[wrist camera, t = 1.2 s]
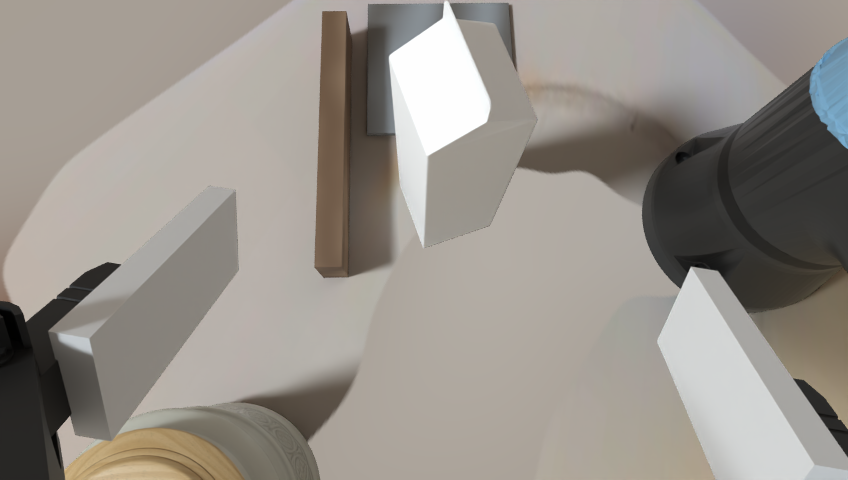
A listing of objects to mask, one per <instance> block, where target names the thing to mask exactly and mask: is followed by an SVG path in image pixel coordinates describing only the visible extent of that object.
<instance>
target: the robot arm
mask: <svg viewBox="0 0 848 480" xmlns="http://www.w3.org/2000/svg"><path fill="white" fill-rule="evenodd" d="M642 219H643V228H644V232H645V236H646V240H647V243H648V246H649V248H650V250H651V252H652V254H653V256H654V258H655V260H656V261H657V263H658V265H659V266H660V267H661V269H662V270H663V271H664V273H665V274H666V275H667V276H668V277H669V278H670V280H671V281H672V282H673V283H675V284H676V285H677V286H678V287H679V288H680V289H681V290H680V292H679V294H678V296H677V299H676V301H675V303H674V305H673V308H672V310H671V312H670V314H669V316H668V319H667V321H666V323H665V325H664V327H663V330H662V332H661V334H660V336H659V338H658V341H657V342H658V345H659V347H660V349H661V352H662V354H663V357H664V359H665V361H666V364H667V366H668V368H669V371H670V373H671V375H672V378H673V380H674V382H675V385H676V387H677V390H678V392H679V394H680V397H681V399H682V401H683V404H684V406H685V408H686V411H687V413H688V415H689V418H690V420H691V422H692V425H693V427H694V430H695V432H696V434H697V437H698V439H699V441H700V444H701V446H702V448H703V451H704V453H705V455H706V458H707V460H708V463H709V465H710V467H711V470H712V472H713V474H714V477H715V479H716V480H848V429H847V428H846V427H845V425H844V424H843V422H842V421H841V420H838V416H837V414H836V413H835V412H834V410H833V409H832V408H831V406H830V405H829V403H828V402H827V401H826V399H825V398H824V397H823V396H822V395H820V394H819V393H818V392H817V391H816V390H815V389H813V388H812V387H811V386H810V385H809V384H808V383H806V382H805V381H804V380H799V379H793V378H792V377H791V375H790V374H789V372H788V371H787V369H786V368H785V367H784V365H783V364H782V362H781V361H780V359H779V358H778V357H777V355H776V354H775V352H774V351H773V349H772V348H771V346H770V345H769V344H768V342H767V341H766V339H765V338H764V336H763V335H762V334H761V332H760V331H759V329H758V328H757V326H756V325H755V324H754V322H753V321H752V319H751V318H750V316H749V315H748V313H756V312H763V311H767V310H772V309H776V308H781V307H785V306H788V305H791V304H794V303H796V302H798V301H800V300H802V299H804V298H806V297H808V296H809V295H811V294H812V293H813V292H815V291H816V290H817V289H818V288H819V287H821V286H822V285H823V284H824V283H825V282H826V281H827V280H828V279H830V278H831V277H832V276H833V275H834V274H835V273H837V272H838V271H839V270H840V269H841V268H842V267H844V269H845V270H846V271H847V273H848V37H847V38H846V39H844V40H842V41H840V42H839V43H837V44H836V45H834V46H833V47H832V48H830V49H829V50H828V51H827V52H826V53H825V54H824V55H823V57H822V58H821V60H819V62H817V63H816V65H815V66H814V67H813V68H811V69H810V70H809V71H808V72H806V73H805V74H804V75H803V76H802V77H800V78H799V79H798V80H797V81H795V82H794V83H793V84H792V85H790V86H789V87H788V88H787V89H785V90H784V91H783V92H782V93H781V94H779V95H778V96H777V97H776V98H774V99H773V100H772V101H771V102H769V103H768V104H767V105H766V106H764V107H763V108H762V109H761V110H759V111H758V112H757V113H755V114H754V115H753V116H752V117H751V118H749V119H748V120H747V121H746V122H744V123H741V124H738V125H734V126H730V127H726V128H722V129H719V130H715V131H711V132H707V133H705V134H702V135H699V136H697V137H695V138H693V139H691V140H689V141H688V142H686V143H684V144H683V145H681V146H680V147H679V148H678V149H676V150H675V151H674V152H673V153H672V154H671V155H670V156H669V157H667V158H666V159H665V160H664V161H663V162H662V163H661V164H660V165H659V167H658V168H657V169H656V170H655V172H654V174H653V175H652V177H651V179H650V181H649V183H648V185H647V188H646V191H645V195H644V199H643V207H642ZM238 270H239V265H238V239H237V213H236V190H233V189H227V188H221V187H215V186H208V187H207V188H206V189H205V190H204V191H203V192H202V193H201V194H199V195H198V196H197V197H196V198H195V199H194V200H193V201H192V202H191V203H190V204H188V205H187V206H186V207H185V208H184V209H183V210H182V211H181V212H180V213H178V214H177V215H176V216H175V217H174V218H173V219H172V220H171V221H170V222H168V223H167V224H166V225H165V226H164V227H163V228H162V229H161V230H160V231H158V232H157V233H156V234H155V235H154V236H153V237H152V238H151V239H150V240H148V241H147V242H146V243H145V244H144V245H143V246H142V247H141V248H140V249H139V250H137V251H136V252H135V253H134V254H133V255H132V256H131V257H130V258H129V259H127V260H126V261H125V262H124V263H123V264H122V265H121V264H115V263H109V262H107V263H105V264H102V265H100V266H98V267H96V268H94V269H91V270H89V271H87V272H85V273H84V274H83V275H82V276H80V277H79V278H78V279H77V280H76V281H74V282H73V283H72V284H71V285H70V287H69V288H66V289H65V290H64V291H62V292H61V293H60V294H59V295H58V296H57V299H53V300H52V301H51V302H49V303H48V304H47V305H46V306H45V307H43V308H42V309H41V310H40V311H39V312H37V313H36V314H35V315H34V316H33V317H31V318H30V319H29V320H28V321H27V322H25V319H24V315H23V313H22V311H21V309H20V308H19V306H17V305H15V304H12V303H10V302H4V301H0V480H65V473H64V467H63V460H62V454H61V447H60V441H59V437H58V434H57V430H58V429H59V428H60V427H61V425H62V424H63V423H64V422H65V421H66V420H67V418H68V417H69V416H70V417H71V420H72V424H73V428H74V432H75V435H78V436H83V437H89V438H95V439H100V440H106V441H111V442H112V440H113V439H114V438H115V436H116V435H117V434H118V432H119V431H120V430H121V428H122V427H123V426H124V424H125V423H126V421H127V420H128V419H129V417H130V416H131V415H132V413H133V412H134V411H135V409H136V408H137V407H138V405H139V404H140V403H141V401H142V400H143V399H144V397H145V396H146V394H147V393H148V392H149V390H150V389H151V388H152V386H153V385H154V384H155V382H156V381H157V380H158V378H159V377H160V376H161V374H162V373H163V371H164V370H165V369H166V367H167V366H168V365H169V363H170V362H171V361H172V359H173V358H174V357H175V355H176V354H177V353H178V351H179V350H180V349H181V347H182V346H183V344H184V343H185V342H186V340H187V339H188V338H189V336H190V335H191V334H192V332H193V331H194V330H195V328H196V327H197V326H198V324H199V323H200V321H201V320H202V319H203V317H204V316H205V315H206V313H207V312H208V311H209V309H210V308H211V307H212V305H213V304H214V303H215V301H216V300H217V299H218V297H219V296H220V294H221V293H222V292H223V290H224V289H225V288H226V286H227V285H228V284H229V282H230V281H231V280H232V278H233V277H234V276H235V274H236V273H237V272H238Z"/></svg>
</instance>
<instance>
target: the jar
mask: <svg viewBox="0 0 848 480" xmlns="http://www.w3.org/2000/svg"><path fill="white" fill-rule="evenodd" d="M64 473H65V480H320V477H319V471H318V467H317V464H316V461H315V458H314V455H313V453H312V450H311V449H310V447H309V445H308V443H307V441H306V440H305V438H304V437H303V436H302V434H301V433H300V432H299V431H298V429H297V428H296V427H295V426H294V425H293V424H292V423H290V422H289V421H288V420H287V419H285V418H284V417H283V416H281V415H279V414H278V413H276V412H274V411H272V410H270V409H268V408H265V407H262V406H258V405H255V404H249V403H222V404H216V405H212V406H208V407H207V406H196V407H186V408H172V409H162V410H156V411H151V412H147V413H144V414H141V415H138V416H135V417H133V418H130V419H128V420H127V421H126V423H125V424H124V426H123V427H122V428H121V430H120V431H119V432H118V434H117V435H116V436H115V438H114V439H113V440H112V442H111V441H106V440H100V439H96V440H95V441H94V442H92V443H91V444H90V445H89V446H88V447H87V448H86V449H85V450H84V451H83V452H82V453H81V454H80V455H79V456H78V457H77V458H76V460H75V461H73V462H72V463H71V464H70V465H69V466H68V467H67V468H66V469H65V470H64Z"/></svg>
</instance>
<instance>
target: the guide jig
mask: <svg viewBox="0 0 848 480" xmlns="http://www.w3.org/2000/svg"><path fill="white" fill-rule="evenodd" d="M450 6H451V9H452V11H453V13H454V16H455V18H456V19H461V20H470V21H479V22H488V23H494V24H495V25H496V27H497V29H498V31H499V34H500V36H501V38H502V40H503V43H504V45H505V47H506V49H507V51H508V54H509V56H510V58H511V60H512V46H511V32H510V18H509V4H508V3H452V4H450ZM443 10H444V4H368V97H367V134H368V135H396V133H395V121H394V110H393V99H392V87H391V76H390V65H389V56H390V55H391V54H392V53H393V52H395V51H396V50H398V49H399V48H400V47H402V46H403V45H405V44H406V43H408V42H409V41H411V40H412V39H413V38H415V37H416V36H418V35H419V34H421V33H422V32H424V31H425V30H427V29H428V28H429V27H431V26H432V25H434V24H435V23H437V22H438V21H440V20H441V19H442V18H443ZM351 61H352V39H351V33H350V28H349V23H348V18H347V12H346V11H322V43H321V75H320V107H319V140H318V172H317V204H316V236H315V268H316V270H317V271H318V272H319V273H320V274H321V275H322V276H323V278H330V277H348V264H349V197H350V129H351ZM512 63H513V60H512Z"/></svg>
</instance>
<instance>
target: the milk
mask: <svg viewBox="0 0 848 480" xmlns="http://www.w3.org/2000/svg"><path fill="white" fill-rule="evenodd" d="M389 65H390V76H391V87H392V99H393V110H394V121H395V133H396V144H397V155H398V166H399V178H400V186H401V189H402V191H403V194H404V197H405V200H406V202H407V205H408V208H409V211H410V213H411V216H412V219H413V222H414V224H415V227H416V230H417V233H418V235H419V238H420V241H421V243H422V246H423V248H426V247H429V246H432V245H435V244H438V243H441V242H444V241H446V240H449V239H452V238H455V237H458V236H461V235H464V234H467V233H470V232H473V231H476V230H479V229H482V228H485V227H488V226H490V224H491V222H492V220H493V217H494V215H495V213H496V211H497V209H498V206H499V204H500V202H501V200H502V198H503V196H504V193H505V191H506V189H507V187H508V185H509V182H510V180H511V178H512V176H513V174H514V171H515V169H516V167H517V165H518V162H519V160H520V158H521V156H522V154H523V151H524V149H525V147H526V145H527V143H528V140H529V138H530V136H531V134H532V132H533V129H534V127H535V125H536V123H537V120H538V119H537V116H536V114H535V112H534V110H533V107H532V105H531V103H530V101H529V98H528V96H527V94H526V92H525V89H524V87H523V85H522V83H521V80H520V78H519V76H518V74H517V72H516V69H515V67H514V65H513V63H512V60H511V58H510V56H509V54H508V51H507V49H506V47H505V45H504V43H503V40H502V38H501V36H500V34H499V31H498V29H497V27H496V25H495V24H494V23H488V22H479V21H470V20H461V19H456V18H455V16H454V13H453V11H452V9H451V6H450V4H449V2H448V1H447V0H446V1H444V10H443V18H442V19H441V20H440V21H438V22H437V23H435V24H434V25H432V26H431V27H429V28H428V29H427V30H425V31H424V32H422V33H421V34H419V35H418V36H416V37H415V38H413V39H412V40H411V41H409V42H408V43H406V44H405V45H403V46H402V47H400V48H399V49H398V50H396V51H395V52H393V53H392V54H391V55H390V56H389Z"/></svg>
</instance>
